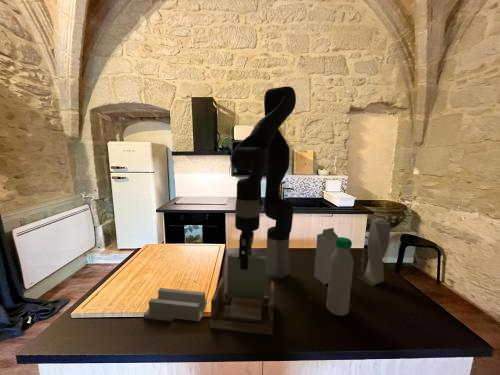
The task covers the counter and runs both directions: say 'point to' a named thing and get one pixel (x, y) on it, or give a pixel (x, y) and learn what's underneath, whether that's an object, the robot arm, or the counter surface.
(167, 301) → the grey stand
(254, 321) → the walnut offcut
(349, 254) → the water bottle
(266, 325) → the oak rack
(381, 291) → the counter surface
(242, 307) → the pine offcut
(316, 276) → the milk
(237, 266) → the sage panel
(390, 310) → the counter surface
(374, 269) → the skyscraper
